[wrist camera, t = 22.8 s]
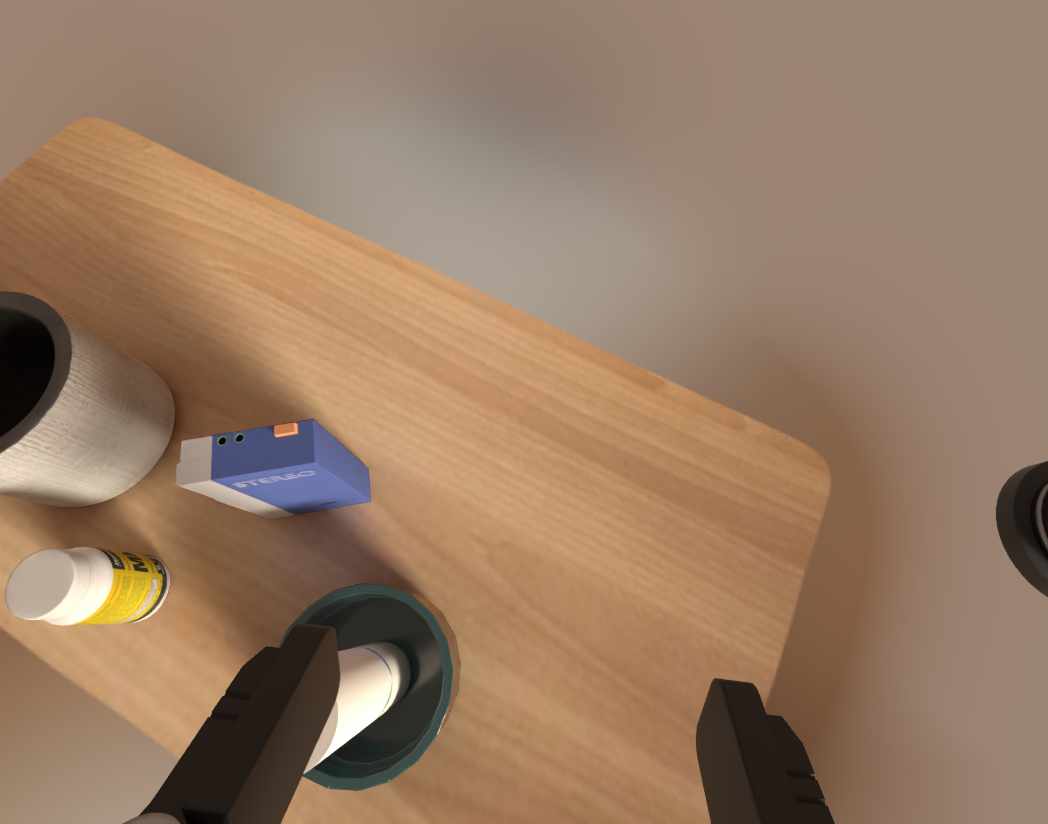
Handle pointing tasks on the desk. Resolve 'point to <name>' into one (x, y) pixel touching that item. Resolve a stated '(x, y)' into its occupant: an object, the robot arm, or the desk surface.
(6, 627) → the desk surface
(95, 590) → the supplement bottle
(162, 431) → the planter
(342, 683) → the tube
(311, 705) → the robot arm
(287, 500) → the walkman
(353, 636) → the bowl
